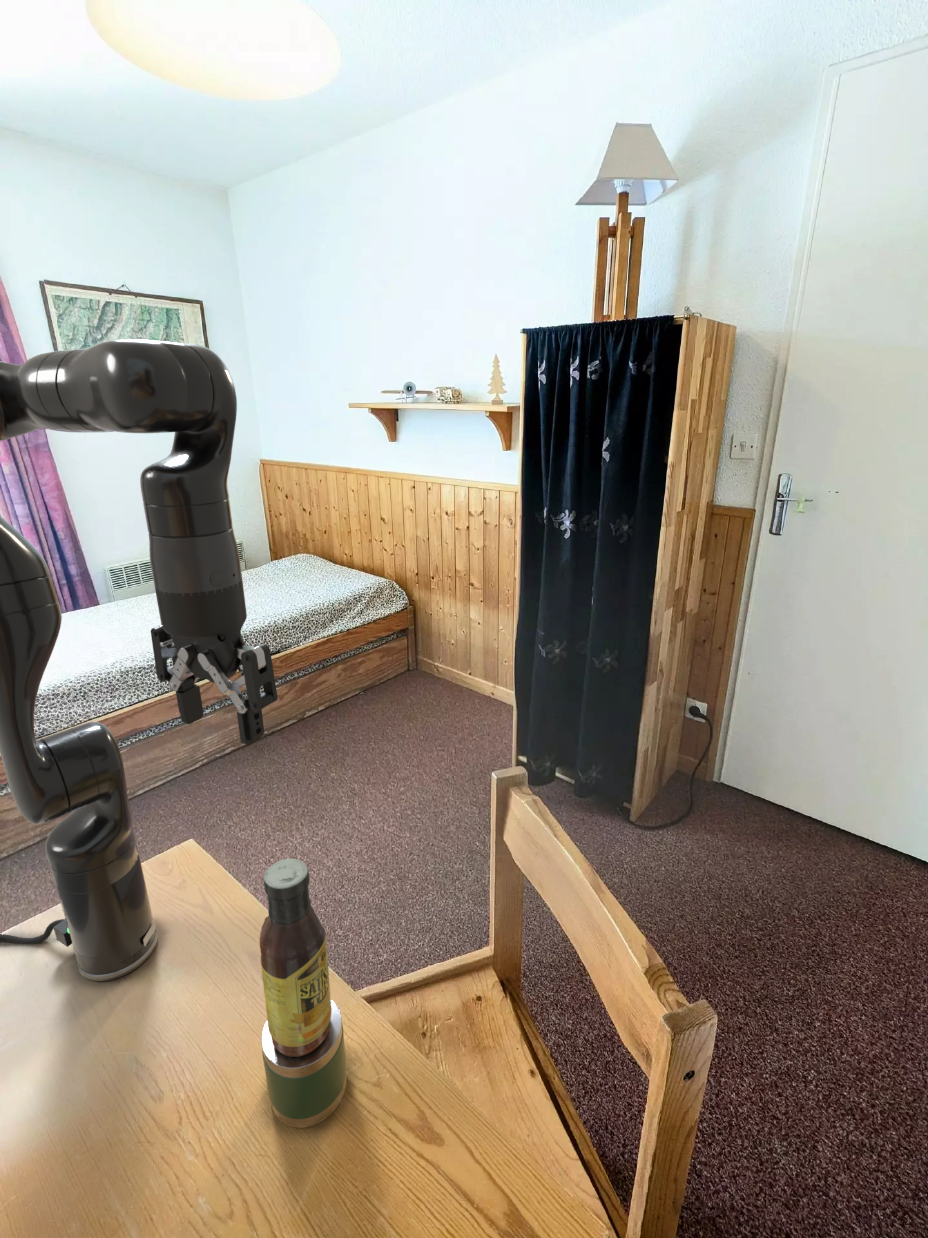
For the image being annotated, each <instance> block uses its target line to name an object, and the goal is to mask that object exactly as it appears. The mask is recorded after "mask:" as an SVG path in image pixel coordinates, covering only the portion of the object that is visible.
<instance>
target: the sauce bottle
mask: <svg viewBox="0 0 928 1238" xmlns="http://www.w3.org/2000/svg"><path fill="white" fill-rule="evenodd" d="M310 882H311V878H310V871H309V867H308V865H307V864H306V863H305V862H304V861H302V860H301V859H298V858H285V859H282V860H279V861H276V862H274V863H273V864H271V865H270V866H269V867H268V868H267V869H266V871H265V873H264V875H263V887H264V892H265V894H266V896H267V902H268V903H267V904H268V908H267V909H268V910H267V911H268V915H267V916H266V917H265V918H264V921H263V923H262V925H261V928H260V933H259V949H260V967H261V968H260V970H261V977H262V985H263V986H262V987H263V994H264V1002H265V1011H266V1020H267V1019H268V1028H269V1032H270V1034H271V1038H272V1043H273V1045H274V1047H275V1048H276V1049H277V1050H278V1051H279V1052H280V1053H282V1054H283V1055H285V1056H286V1055H287V1056H290V1057H300V1056H303V1055H306V1054H308V1053H310V1052H312V1051H313V1050H314V1049H316V1048H317V1047H318V1046H319V1045H320V1044H321V1043H322V1042H323V1041H324V1040H325V1038H326V1035H327V1034H328V1032H329V1028H330V1019H331V1013H332V1009H331V999H332V996H331V985H330V972H329V958H328V948H327V947H328V946H327V945H328V944H327V933H326V929H325V928H324V927H323V924H322V923H321V921H320V920H319V918H318V915H317V914H316V912H315V910H314V908H313V906H312V901H311V899H310V894H309V893H310V891H309V885H310Z"/></svg>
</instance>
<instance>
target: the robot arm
mask: <svg viewBox="0 0 928 1238" xmlns="http://www.w3.org/2000/svg"><path fill="white" fill-rule="evenodd" d="M236 391H237V390H236V387H235V383H234V380H233V377H232V375H231V373H230V371H229V368H228V367H227V365H226V364H225V362H224V360H223V359H222V358H221V357H220V356H219V355H218V354H217V353H216V352H215V351H213V350H211V349H210V348H208V347H206V346H203V345H199V344H193V343H183V342H170V341H160V340H151V339H150V340H149V339H140V338H139V339H136V338H133V339H131V338H128V339H115V340H114V339H113V340H107V341H103V342H100V343H97V344H96V345H93V346H90V347H88V348H76V349H66V350H65V349H64V350H55V351H49V352H45V353H40V354H37V355H35V356H32V357H30V358H28V359H27V360H26V361H25V362H23V364H17V363H11V362H6V361H3V360H0V442H3V441H7V440H10V439H14V438H16V437H20V436H23V435H26V434H29V433H32V432H36V431H37V432H38V431H42V430H51V431H56V432H62V433H63V432H65V433H85V434H86V433H115V432H117V433H123V434H164V433H174V435H173V442H172V446H171V451H170V453H169V455H167V456H166V457H165V458H163V459H161V460H158V461H156V462H153V463H152V464H149V465H148V466H146V467H145V468H144V469H143V470H142V471H141V473H140V477H139V481H140V483H139V485H140V492H141V493H140V494H141V498H142V502H143V503H142V504H143V511H144V515H145V522H146V527H147V532H148V541H149V542H148V543H149V549H148V550H149V562H150V568H151V573H152V579H153V584H154V592H155V596H156V603H157V608H158V614H159V619H160V625H157V626H155V627H152V628H151V629H150V636H151V643H152V651H153V658H154V665H155V672H156V677H157V679H158V681H159V682H160V683H164V682H167V683H169V687H170V689H171V690H172V691H173V692H175V696H176V701H177V706H178V712H179V716H180V721H181V722H182V723H184V724H186V725H192V724H193V723H195V722H197V721H198V720H200V719H202V718H203V716H204V713H205V712H204V708H203V701H202V700H203V699H202V694H201V689H200V684H196V683H197V682H198V681H199V679H206V680H207V681H209V682H210V683H213V684H215V685H216V687H217V688H218V690H219V692H220V693H221V694H222V695H224V696H228V697H229V698H230V700H231V702H232V703H233V705H234V706H235V708H236V710H237V711H236V718H237V725H238V732H239V739H240V743H241V744H243V745H246V746H251V745H253V744H254V743H256V742H257V741H259V740H261V738H263V736H264V733H265V726H264V717H263V709H265V708H267V707H268V706H270V705H272V704H273V703H275V702H277V701H278V691H277V684H276V679H275V673H274V666H273V660H272V655H271V648H270V647H269V645H268V644H266V643H261V644H259V645H256V646H251V645H247V644H246V642H245V640H244V638H243V636H242V628H243V625H244V624H245V622H246V620H247V616H248V614H247V606H246V597H245V590H244V582H243V574H242V565H241V557H240V551H239V547H238V546H239V545H238V543H237V540H236V535H235V530H234V527H233V517H232V509H231V501H230V494H229V488H228V487H229V485H228V479H229V472H230V466H231V461H232V453H233V445H234V439H235V430H236V424H237V416H238V415H237V414H238V398H237V397H238V396H237V392H236ZM62 618H63V615H62V608H61V604H60V602H59V598H58V595H57V591H56V589H55V585H54V582H53V579H52V576H51V572H50V569H49V567H48V564H47V562H46V560H45V558H44V557H43V555H42V554H41V553H40V551H39V550H38V549H37V548H36V547H35V546H34V545H33V544H32V542H30V541H29V540H28V539H27V538H26V537H25V536H24V535H23V534H22V533H21V532H20V531H18V529H16V528H15V527H14V526H13V525H12V524H10V523H9V522H8V521H7V520H6V519H5V518H3V517H2V516H1V515H0V757H1V762H2V765H3V770H4V772H5V777H6V780H7V783H8V787H9V791H10V793H11V795H12V798H13V801H14V803H15V805H16V807H17V809H18V812H19V814H20V815H21V816H22V817H23V818H24V819H25V820H26V821H27V822H28V823H30V824H33V825H41V824H46V823H48V822H51V821H53V820H56V819H58V818H60V817H63V816H65V818H63V819H62V820H61V821H60V822H59V823H57V824H56V825H55V827H53V829H52V830H50V832H49V834H48V836H47V838H46V841H45V846H44V847H45V855H46V857H47V858H46V859H47V861H48V865H49V868H50V872H51V876H52V879H53V882H54V886H55V888H56V891H57V896H58V899H59V903H60V905H61V909H62V912H63V916H64V918H61V919H56V920H54V921H52V922H51V923H49V924H48V925H47V926H46V928H45V930H44V932H43V934H40V935H38V936H35V937H34V936H33V937H22V936H15V935H10V934H4V933H0V942H3V943H4V942H5V943H11V944H15V945H35V944H39V943H42V942H44V941H46V940H47V939H48V938H49V937H50V936H51V934H52V933H53V931H54V935H55V938H56V940H57V941H58V942H60V943H61V944H62V945H63V946H66V947H67V948H68V947H69V946H71V945H72V947H73V951H74V955H75V958H76V965H77V969H78V972H79V973H80V975H81V976H82V977H83V978H84V979H87V980H89V981H94V982H107V981H110V980H114V979H115V980H116V979H118V978H120V977H123V976H125V975H127V974H130V973H131V972H133V971H134V970H136V969H138V968H139V967H140V966H141V965H142V964H144V963H145V962H146V961H147V960H148V958H149V957H150V956H151V955H152V953H153V952H154V950H155V948H156V946H157V943H158V938H159V937H158V936H159V935H158V930H157V923H156V920H155V919H154V916H153V911H152V906H151V903H150V897H149V893H148V889H147V884H146V880H145V876H144V871H143V866H142V863H141V858H140V854H139V849H138V844H137V839H136V836H135V831H134V826H133V816H132V810H131V806H130V800H129V794H128V787H127V780H126V774H125V773H126V772H125V767H124V761H123V756H122V752H121V749H120V747H119V743H118V741H117V738H116V737H115V735H114V733H113V732H112V731H111V730H110V729H109V727H107V726H106V725H105V724H104V723H102V722H99V721H90V722H86V723H83V724H80V725H77V726H74V727H70V728H67V729H65V730H62V731H59V732H55V733H54V734H50V735H47V736H44V737H42V738H40V739H36V735H35V734H36V733H35V709H36V708H35V707H36V701H37V698H38V697H37V696H38V694H39V693H38V692H39V688H40V685H41V683H42V679H43V676H44V673H45V671H46V669H47V666H48V663H49V661H50V659H51V657H52V653H53V651H54V649H55V646H56V643H57V640H58V637H59V634H60V630H61V627H62ZM170 659H171V661H172V665H171V666H168V660H170ZM237 672H238V673H239V674H240V677H239V678H236V679H234V680H229V679H230V678H232V677H234V676H235V675H236V673H237ZM261 687H263V692H262V691H261ZM240 688H244V689H245V691H246V694H247V696H246V697H244V696H243V694H242V692H241V690H240ZM66 815H67V816H66ZM2 934H3V935H2Z"/></svg>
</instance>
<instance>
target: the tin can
mask: <svg viewBox="0 0 928 1238" xmlns="http://www.w3.org/2000/svg"><path fill="white" fill-rule="evenodd" d="M331 1009H332V1013H331V1019H330V1028H329V1032H328V1034H327V1035H326V1038H325V1040H324V1041H323V1042H322V1043H321V1044H320V1045H319V1046H318V1047H317V1048H316V1049H314V1050H313V1051H312V1052H310V1053H308V1054H306V1055H303V1056H300V1057H290V1056H287V1055H286V1056H285V1055H283V1054H282V1053H280V1052H279V1051H278V1050H277V1049H276V1048H275V1047H274V1045H273V1043H272V1038H271V1034H270V1032H269V1028H268V1019H267V1018H266V1021H265V1023H264V1025H263V1028H262V1031H261V1048H262V1049H261V1050H262V1051H261V1052H262V1061H263V1067H264V1073H265V1078H266V1079H265V1080H266V1086H267V1091H268V1097H269V1101H270V1105H271V1109H272V1112H273V1114H274V1115H275V1117H276V1118H277V1119H278V1120H279V1121H280V1122H281V1123H283V1124H284V1125H286V1126H287V1127H290V1128H296V1129H304V1128H305V1129H306V1128H310V1127H313V1126H316V1125H318V1124H320V1123H321V1122H322V1123H323V1122H324V1120H327V1118H329V1117H330V1116H331V1115H332V1114H333V1112H335V1110H337V1108H338V1107H339V1105H340V1103H341V1102H342V1099H343V1098H344V1095H345V1092H346V1088H347V1079H348V1078H347V1071H348V1069H347V1058H346V1057H347V1056H346V1047H345V1034H344V1026H343V1022H342V1014H341V1011H340V1008H339V1006H338V1005H337V1003H336V1002H335V1001H334V999H332V998H331Z"/></svg>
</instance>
